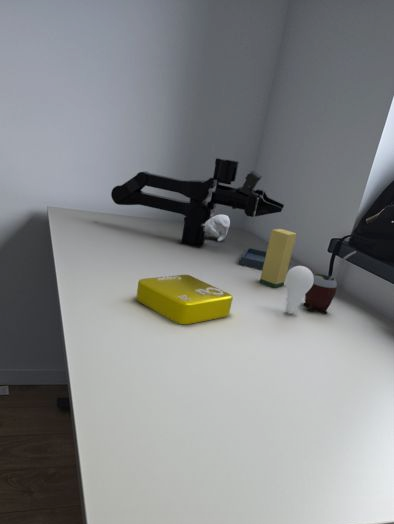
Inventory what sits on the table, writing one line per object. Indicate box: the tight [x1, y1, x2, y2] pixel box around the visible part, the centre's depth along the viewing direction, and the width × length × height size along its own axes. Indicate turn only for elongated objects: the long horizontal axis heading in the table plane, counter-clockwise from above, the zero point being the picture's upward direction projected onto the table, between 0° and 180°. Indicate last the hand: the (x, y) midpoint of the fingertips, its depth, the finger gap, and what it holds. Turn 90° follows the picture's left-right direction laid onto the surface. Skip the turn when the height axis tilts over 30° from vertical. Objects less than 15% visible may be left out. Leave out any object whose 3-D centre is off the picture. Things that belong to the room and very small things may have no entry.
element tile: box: [135, 274, 233, 325], centre depth 101 cm, size 15×15×5 cm
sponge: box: [259, 228, 298, 289], centre depth 128 cm, size 5×5×14 cm
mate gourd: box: [303, 250, 357, 315], centre depth 114 cm, size 8×8×15 cm
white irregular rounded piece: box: [203, 214, 231, 242], centre depth 169 cm, size 6×8×12 cm
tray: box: [239, 247, 267, 271], centre depth 149 cm, size 13×15×2 cm
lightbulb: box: [284, 265, 314, 315], centre depth 109 cm, size 6×6×11 cm
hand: (282, 208), depth 147 cm, fingers open, 9 cm apart
